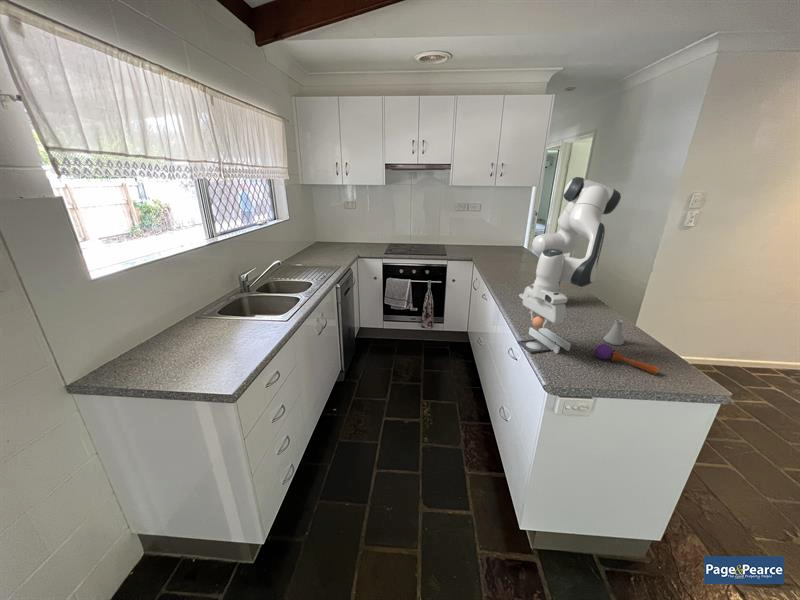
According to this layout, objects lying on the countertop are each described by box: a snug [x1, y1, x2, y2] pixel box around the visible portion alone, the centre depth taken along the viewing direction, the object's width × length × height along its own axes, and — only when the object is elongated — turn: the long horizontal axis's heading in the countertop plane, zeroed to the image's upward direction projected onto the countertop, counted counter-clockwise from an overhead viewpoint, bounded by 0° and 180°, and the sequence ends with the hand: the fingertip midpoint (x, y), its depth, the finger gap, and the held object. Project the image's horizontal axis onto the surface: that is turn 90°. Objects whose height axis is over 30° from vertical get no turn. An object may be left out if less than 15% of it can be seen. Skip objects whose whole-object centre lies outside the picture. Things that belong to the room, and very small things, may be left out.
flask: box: [602, 318, 625, 346], centre depth 137 cm, size 7×7×10 cm
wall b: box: [528, 327, 561, 354], centre depth 136 cm, size 18×1×3 cm, turn 15°
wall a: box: [538, 327, 572, 352], centre depth 139 cm, size 18×1×3 cm, turn 15°
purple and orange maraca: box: [594, 343, 660, 376], centre depth 121 cm, size 6×6×20 cm
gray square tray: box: [517, 338, 552, 354], centre depth 133 cm, size 9×9×1 cm
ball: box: [531, 315, 545, 330], centre depth 129 cm, size 5×5×5 cm
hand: (538, 324), depth 129 cm, fingers closed on ball, 5 cm apart
